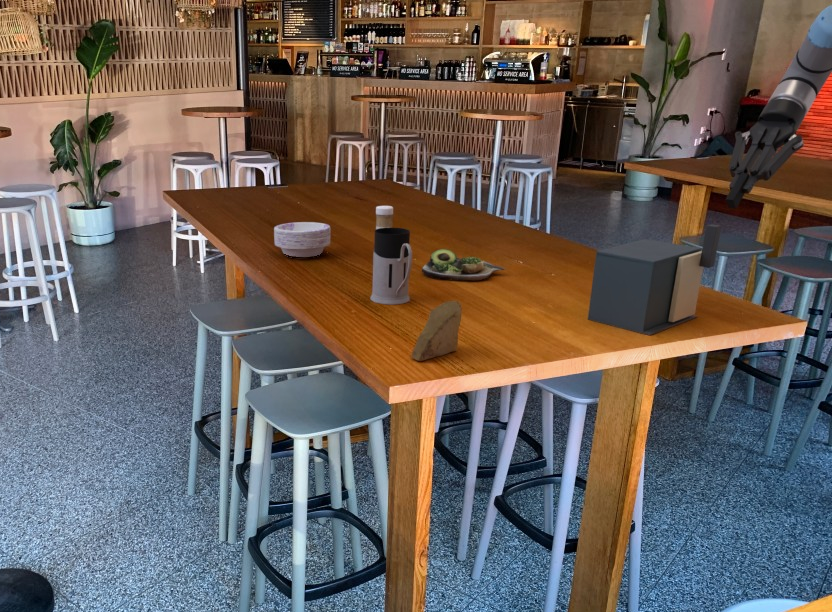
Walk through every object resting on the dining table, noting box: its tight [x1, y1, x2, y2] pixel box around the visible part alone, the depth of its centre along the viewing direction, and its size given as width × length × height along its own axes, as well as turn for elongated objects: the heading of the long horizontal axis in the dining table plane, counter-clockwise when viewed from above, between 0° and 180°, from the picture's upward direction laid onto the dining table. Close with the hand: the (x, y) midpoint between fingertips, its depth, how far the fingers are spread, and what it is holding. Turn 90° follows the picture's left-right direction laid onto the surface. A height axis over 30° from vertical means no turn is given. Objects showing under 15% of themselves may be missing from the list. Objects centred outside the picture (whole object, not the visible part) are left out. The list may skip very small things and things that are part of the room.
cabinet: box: [587, 238, 702, 336], centre depth 158 cm, size 14×18×14 cm
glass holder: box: [369, 227, 413, 305], centre depth 169 cm, size 9×14×15 cm, turn 18°
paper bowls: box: [273, 221, 332, 257], centre depth 213 cm, size 15×15×8 cm
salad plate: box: [421, 248, 506, 281], centre depth 195 cm, size 19×18×5 cm
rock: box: [410, 300, 463, 362], centre depth 140 cm, size 11×9×10 cm
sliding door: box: [668, 223, 722, 322], centre depth 154 cm, size 3×9×18 cm, turn 130°
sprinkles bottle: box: [375, 205, 394, 230], centre depth 209 cm, size 5×5×13 cm
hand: (730, 203), depth 154 cm, fingers closed
